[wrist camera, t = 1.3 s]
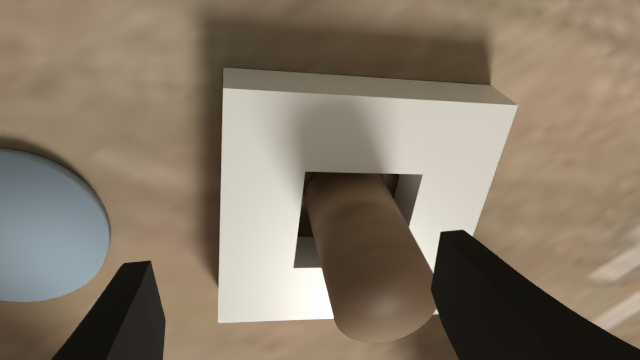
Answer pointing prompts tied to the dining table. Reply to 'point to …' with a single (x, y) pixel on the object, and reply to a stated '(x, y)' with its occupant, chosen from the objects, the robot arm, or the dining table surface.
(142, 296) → the robot arm
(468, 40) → the dining table surface
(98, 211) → the coaster
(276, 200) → the holder block
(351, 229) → the walnut dowel
